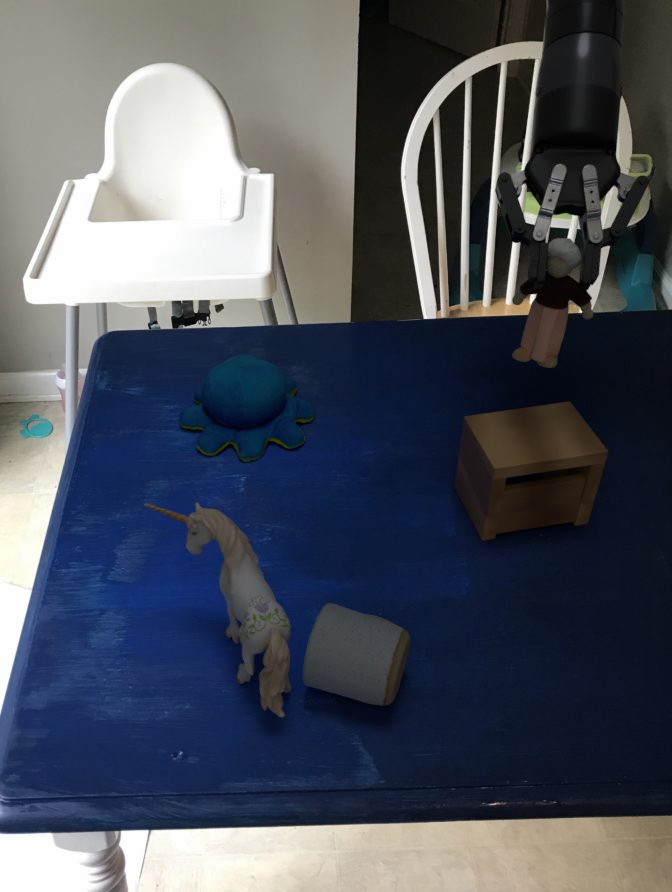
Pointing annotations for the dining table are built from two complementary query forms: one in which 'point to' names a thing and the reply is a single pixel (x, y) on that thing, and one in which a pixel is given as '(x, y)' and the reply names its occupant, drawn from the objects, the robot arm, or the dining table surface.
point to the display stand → (528, 468)
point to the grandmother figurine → (551, 305)
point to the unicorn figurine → (245, 602)
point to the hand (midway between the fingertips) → (561, 286)
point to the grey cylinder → (356, 655)
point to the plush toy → (246, 409)
